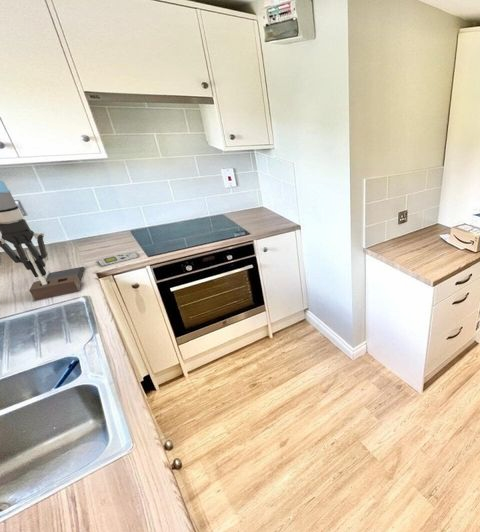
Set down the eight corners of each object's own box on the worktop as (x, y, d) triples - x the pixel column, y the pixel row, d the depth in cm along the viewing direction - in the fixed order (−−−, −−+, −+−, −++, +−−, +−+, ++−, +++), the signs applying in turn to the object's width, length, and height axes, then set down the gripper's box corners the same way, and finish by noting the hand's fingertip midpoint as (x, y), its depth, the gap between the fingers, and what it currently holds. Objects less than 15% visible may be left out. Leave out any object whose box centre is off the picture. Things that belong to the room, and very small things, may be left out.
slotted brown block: (78, 291, 138) (73, 281, 136) (35, 300, 131) (29, 290, 129) (81, 283, 144) (76, 273, 142) (39, 292, 137) (33, 281, 135)
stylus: (42, 287, 133) (24, 250, 127) (43, 285, 134) (25, 249, 128) (47, 286, 134) (29, 249, 128) (48, 284, 135) (30, 249, 129)
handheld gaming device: (137, 255, 168) (101, 264, 158) (138, 256, 169) (101, 266, 159) (133, 250, 174) (97, 259, 163) (133, 252, 174) (98, 260, 164)
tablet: (42, 289, 139) (41, 287, 138) (50, 274, 150) (49, 272, 150) (79, 282, 145) (78, 279, 145) (84, 268, 157) (83, 266, 156)
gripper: (39, 215, 128) (66, 267, 139) (-16, 221, 120) (18, 276, 131) (34, 220, 123) (63, 274, 133) (-23, 227, 115) (12, 283, 126)
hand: (40, 275), depth 132 cm, fingers closed on stylus, 1 cm apart
